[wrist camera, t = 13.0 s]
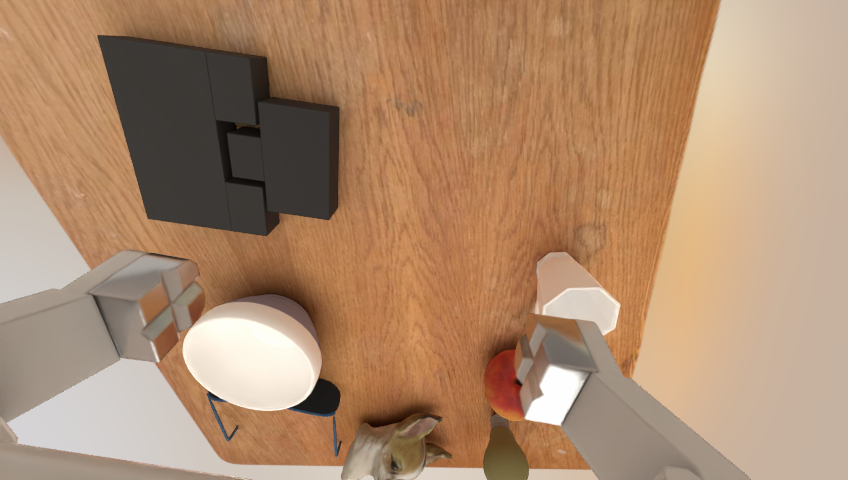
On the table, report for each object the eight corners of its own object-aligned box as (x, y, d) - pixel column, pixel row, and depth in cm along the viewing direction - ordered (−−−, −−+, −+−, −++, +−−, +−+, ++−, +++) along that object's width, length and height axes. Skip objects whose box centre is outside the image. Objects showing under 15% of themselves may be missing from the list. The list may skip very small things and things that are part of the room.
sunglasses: (345, 381, 49) (334, 416, 45) (345, 430, 58) (337, 464, 54) (222, 363, 49) (201, 397, 45) (241, 415, 58) (225, 448, 54)
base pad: (127, 36, 30) (96, 34, 27) (267, 57, 30) (249, 58, 27) (168, 207, 38) (147, 218, 35) (279, 223, 38) (266, 236, 35)
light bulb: (526, 409, 50) (542, 487, 41) (505, 431, 52) (517, 508, 43) (491, 397, 49) (500, 473, 40) (472, 419, 51) (477, 495, 43)
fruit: (555, 350, 44) (575, 408, 37) (520, 388, 48) (532, 447, 41) (501, 327, 43) (511, 382, 36) (468, 368, 46) (472, 425, 39)
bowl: (212, 264, 41) (166, 307, 34) (335, 281, 41) (313, 327, 34) (230, 353, 48) (195, 402, 41) (335, 368, 48) (317, 419, 41)
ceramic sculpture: (326, 470, 44) (444, 458, 43) (340, 408, 52) (441, 396, 50) (349, 513, 49) (455, 503, 48) (359, 450, 57) (451, 440, 55)
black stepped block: (240, 92, 32) (221, 96, 29) (339, 107, 32) (329, 112, 29) (251, 195, 36) (236, 206, 34) (337, 208, 36) (329, 220, 34)
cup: (602, 251, 37) (638, 299, 30) (556, 320, 42) (578, 375, 35) (541, 231, 36) (563, 275, 29) (501, 303, 41) (511, 356, 34)
